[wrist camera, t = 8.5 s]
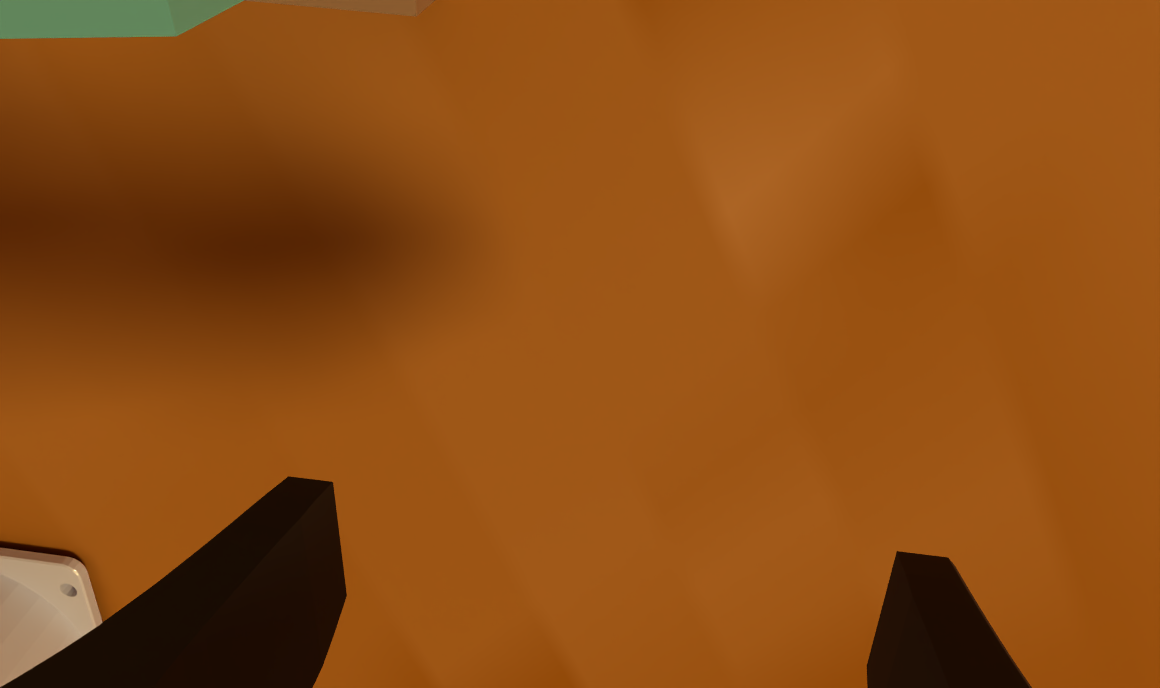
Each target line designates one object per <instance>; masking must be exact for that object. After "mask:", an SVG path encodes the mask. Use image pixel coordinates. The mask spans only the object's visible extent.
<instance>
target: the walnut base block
mask: <svg viewBox="0 0 1160 688" xmlns="http://www.w3.org/2000/svg"><path fill="white" fill-rule="evenodd" d="M245 1H255V2H266V3H277V4H288V5H298V6H309V7H320V8H331V9H342V10H352V11H363V12H374V13H385V14H395V15H406V16H417V15H419V14H420V13H421V12H422V11H423V10H424V9H425V8H427V7H428V6H429V5H430V4H431V3H432V2H433V1H435V0H245Z"/></svg>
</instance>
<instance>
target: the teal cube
mask: <svg viewBox="0 0 1160 688" xmlns="http://www.w3.org/2000/svg"><path fill="white" fill-rule="evenodd" d="M242 1H244V0H0V39H12V38H86V37H160V36H178V35H180V34H182V33H184V32H185V31H187V30H189V29H191V28H193V27H195V26H197V25H199V24H200V23H202V22H204V21H206V20H208V19H210V18H212V17H214V16H215V15H217V14H219V13H221V12H223V11H225V10H227V9H229V8H230V7H232V6H234V5H236V4H238V3H240V2H242Z"/></svg>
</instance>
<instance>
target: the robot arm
mask: <svg viewBox="0 0 1160 688" xmlns="http://www.w3.org/2000/svg"><path fill="white" fill-rule="evenodd" d="M346 596H347V594H346V586H345V578H344V569H343V561H342V553H341V545H340V537H339V528H338V520H337V512H336V504H335V496H334V487H333V482H329V481H321V480H313V479H304V478H296V477H287V478H286V479H285V480H283V481H282V482H281V483H280V484H278V485H277V486H276V487H275V488H273V489H272V490H271V491H270V492H268V493H267V494H266V495H265V496H263V497H262V498H261V499H260V500H259V501H257V502H256V503H255V504H254V505H253V506H251V507H250V508H249V509H248V510H246V511H245V512H244V513H243V514H242V515H240V516H239V517H238V518H237V519H236V520H234V521H233V522H232V523H231V524H230V525H228V526H227V527H226V528H225V529H224V530H222V531H221V532H220V533H219V534H218V535H216V536H215V537H214V538H213V539H211V540H210V541H209V542H208V543H207V544H205V545H204V546H203V547H202V548H200V549H199V550H198V551H197V552H195V553H194V554H193V555H192V556H190V557H189V558H188V559H186V560H185V561H184V562H183V563H181V564H180V565H179V566H178V567H176V568H175V569H174V570H173V571H171V572H170V573H169V574H168V575H166V576H165V577H164V578H163V579H161V580H160V581H159V582H157V583H156V584H155V585H153V586H152V587H151V588H149V589H148V590H147V591H145V592H144V593H143V594H141V595H140V596H138V597H137V598H136V599H134V600H133V601H132V602H130V603H129V604H127V605H126V606H125V607H123V608H122V609H121V610H119V611H118V612H116V613H115V614H114V615H112V616H111V617H110V618H108V619H107V620H105V621H104V622H102V619H101V615H100V612H99V609H98V606H97V602H96V599H95V596H94V592H93V589H92V586H91V582H90V579H89V576H88V572H87V570H86V568H85V566H84V565H83V564H82V563H81V562H80V561H78V560H76V559H75V558H71V557H67V556H59V555H52V554H44V553H37V552H30V551H22V550H15V549H7V548H0V688H312V687H313V685H314V683H315V681H316V679H317V677H318V675H319V673H320V671H321V668H322V666H323V664H324V661H325V658H326V655H327V652H328V650H329V647H330V644H331V641H332V638H333V636H334V633H335V630H336V627H337V623H338V620H339V617H340V614H341V611H342V608H343V605H344V602H345V599H346ZM867 684H868V688H1032V687H1031V686H1030V684H1029V683H1028V681H1027V680H1026V679H1025V677H1024V676H1023V674H1022V673H1021V671H1020V670H1019V668H1018V667H1017V665H1016V664H1015V662H1014V661H1013V659H1012V658H1011V656H1010V655H1009V653H1008V652H1007V650H1006V649H1005V647H1004V646H1003V644H1002V642H1001V641H1000V639H999V638H998V636H997V635H996V633H995V631H994V630H993V628H992V627H991V625H990V623H989V622H988V620H987V619H986V617H985V615H984V614H983V612H982V611H981V609H980V607H979V606H978V604H977V602H976V601H975V599H974V597H973V596H972V594H971V592H970V591H969V589H968V587H967V586H966V584H965V582H964V581H963V579H962V577H961V576H960V574H959V572H958V570H957V569H956V567H955V566H954V564H953V563H952V562H951V561H950V559H949V558H947V557H939V556H931V555H923V554H915V553H907V552H898V551H897V553H896V557H895V561H894V564H893V568H892V572H891V576H890V580H889V583H888V587H887V591H886V595H885V599H884V602H883V606H882V610H881V614H880V618H879V622H878V625H877V629H876V633H875V637H874V641H873V644H872V648H871V652H870V656H869V660H868V663H867Z"/></svg>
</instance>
